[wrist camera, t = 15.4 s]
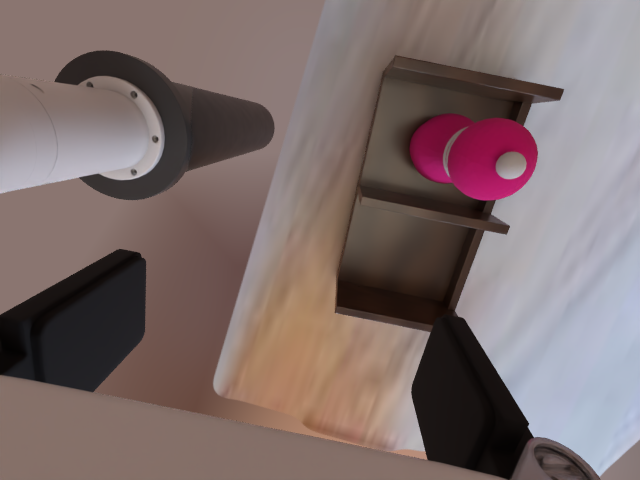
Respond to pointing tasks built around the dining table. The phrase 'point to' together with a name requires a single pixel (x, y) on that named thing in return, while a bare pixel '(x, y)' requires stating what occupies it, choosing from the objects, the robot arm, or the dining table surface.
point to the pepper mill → (475, 154)
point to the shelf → (420, 197)
